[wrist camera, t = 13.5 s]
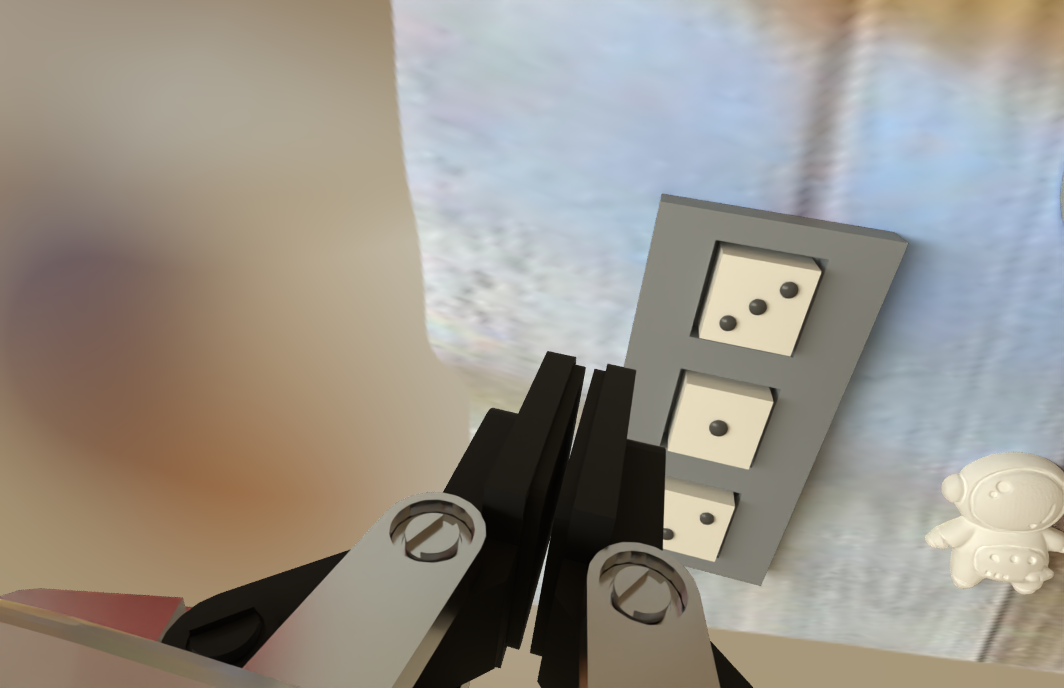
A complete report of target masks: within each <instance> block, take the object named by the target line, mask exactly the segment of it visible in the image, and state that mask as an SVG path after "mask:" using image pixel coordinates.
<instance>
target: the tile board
mask: <svg viewBox="0 0 1064 688" xmlns="http://www.w3.org/2000/svg"><path fill="white" fill-rule="evenodd" d="M720 241H724V242H730V243H736V244H741V245H747V246H753V247H758V248H764V249H770V250H775V251H781V252H787V253H793V254H798V255H804V256H810V257H812V259H813V260H814V262H815V263H816V264H817V266H818V267H819V269H820V270H821V275H820V277H819V280H818V283H817V285H816V288H815V291H814V294H813V296H812V299H811V302H810V304H809V307H808V310H807V313H806V315H805V318H804V321H803V323H802V326H801V329H800V332H799V334H798V337H797V340H796V342H795V345H794V348H793V351H792V353H791V356H786V355H781V354H776V353H771V352H766V351H761V350H756V349H751V348H746V347H741V346H737V345H732V344H727V343H722V342H717V341H712V340H707V339H702V338H699V326H698V318H699V315H700V311H701V307H702V304H703V300H704V297H705V293H706V289H707V286H708V282H709V278H710V275H711V271H712V267H713V264H714V260H715V257H716V253H717V249H718V246H719V242H720ZM907 246H908V242H906V241H905V240H904V239H902V238H901V237H900V236H898V235H897V234H896V233H894V232H890V231H884V230H878V229H872V228H866V227H860V226H854V225H848V224H842V223H836V222H829V221H823V220H817V219H811V218H805V217H799V216H793V215H787V214H781V213H775V212H769V211H763V210H757V209H751V208H745V207H739V206H733V205H727V204H721V203H715V202H709V201H703V200H697V199H691V198H685V197H679V196H673V195H667V194H662V195H661V200H660V204H659V209H658V213H657V218H656V222H655V227H654V232H653V236H652V241H651V245H650V250H649V254H648V259H647V263H646V268H645V273H644V277H643V282H642V286H641V291H640V295H639V300H638V304H637V309H636V314H635V318H634V323H633V327H632V332H631V336H630V341H629V345H628V350H627V355H626V359H625V364H624V367H625V368H630V369H634V370H636V377H635V384H634V392H633V399H632V406H631V413H630V420H629V427H628V434H627V439H630V440H634V441H639V442H643V443H647V444H652V445H656V446H660V447H665V449H666V470H665V475H666V476H670V477H675V478H679V479H683V480H687V481H691V482H695V483H700V484H704V485H708V486H712V487H716V488H721V489H725V490H729V491H733V495H734V503H735V508H734V511H733V514H732V516H731V519H730V522H729V524H728V527H727V530H726V533H725V535H724V538H723V541H722V543H721V546H720V549H719V552H718V554H717V557H716V560H715V562H713V561H709V560H705V559H701V558H697V557H693V556H689V555H686V554H682V553H678V552H674V551H670V550H666V549H663V551H664V552H666V553H668V554H670V555H671V556H672V557H674V558H675V559H676V560H677V561H678V562H680V563H681V564H682V565H683V566H686V567H690V568H694V569H698V570H702V571H705V572H709V573H713V574H717V575H721V576H724V577H728V578H732V579H736V580H740V581H744V582H747V583H751V584H755V585H759V586H761V584H762V582H763V580H764V577H765V575H766V573H767V570H768V568H769V566H770V564H771V561H772V559H773V557H774V554H775V552H776V550H777V547H778V545H779V543H780V540H781V538H782V536H783V533H784V531H785V529H786V526H787V524H788V522H789V519H790V517H791V515H792V512H793V510H794V508H795V506H796V503H797V501H798V499H799V496H800V494H801V492H802V489H803V487H804V485H805V482H806V480H807V478H808V475H809V473H810V471H811V468H812V466H813V464H814V461H815V459H816V457H817V454H818V452H819V450H820V448H821V445H822V443H823V441H824V438H825V436H826V434H827V431H828V429H829V427H830V424H831V422H832V420H833V417H834V415H835V413H836V410H837V408H838V406H839V403H840V401H841V399H842V396H843V394H844V392H845V390H846V387H847V385H848V383H849V380H850V378H851V376H852V373H853V371H854V369H855V366H856V364H857V362H858V359H859V357H860V355H861V352H862V350H863V348H864V345H865V343H866V341H867V338H868V336H869V334H870V332H871V329H872V327H873V325H874V322H875V320H876V318H877V315H878V313H879V311H880V308H881V306H882V304H883V301H884V299H885V297H886V294H887V292H888V290H889V287H890V285H891V283H892V280H893V278H894V276H895V274H896V271H897V269H898V267H899V264H900V262H901V260H902V257H903V255H904V253H905V250H906V248H907ZM684 369H687V370H691V371H696V372H701V373H706V374H710V375H715V376H720V377H725V378H729V379H734V380H739V381H744V382H748V383H753V384H758V385H763V386H767V387H769V388H770V391H771V395H772V398H773V405H772V407H771V410H770V413H769V416H768V418H767V421H766V424H765V426H764V429H763V432H762V435H761V437H760V440H759V443H758V446H757V448H756V451H755V454H754V456H753V459H752V462H751V465H750V467H749V470H748V469H744V468H739V467H735V466H731V465H726V464H722V463H718V462H714V461H709V460H705V459H701V458H696V457H692V456H688V455H684V454H679V453H675V452H671V451H668V427H669V423H670V420H671V416H672V413H673V409H674V405H675V402H676V398H677V394H678V391H679V387H680V384H681V380H682V376H683V373H684Z"/></svg>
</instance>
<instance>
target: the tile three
mask: <svg viewBox="0 0 1064 688" xmlns="http://www.w3.org/2000/svg"><path fill="white" fill-rule="evenodd" d="M820 275H821V270H820V269H819V267H818V266H817V264H816V263H815V262H814V260H813V259H812V257H810V256H804V255H798V254H793V253H787V252H781V251H775V250H770V249H764V248H758V247H753V246H747V245H741V244H736V243H730V242H724V241H720V242H719V246H718V249H717V253H716V257H715V260H714V264H713V267H712V271H711V275H710V278H709V282H708V286H707V289H706V293H705V297H704V300H703V304H702V307H701V311H700V315H699V318H698V326H699V338H702V339H707V340H712V341H717V342H722V343H727V344H732V345H737V346H741V347H746V348H751V349H756V350H761V351H766V352H771V353H776V354H781V355H786V356H791V353H792V351H793V348H794V345H795V342H796V340H797V337H798V334H799V332H800V329H801V326H802V323H803V321H804V318H805V315H806V313H807V310H808V307H809V304H810V302H811V299H812V296H813V294H814V291H815V288H816V285H817V283H818V280H819V277H820Z"/></svg>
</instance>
